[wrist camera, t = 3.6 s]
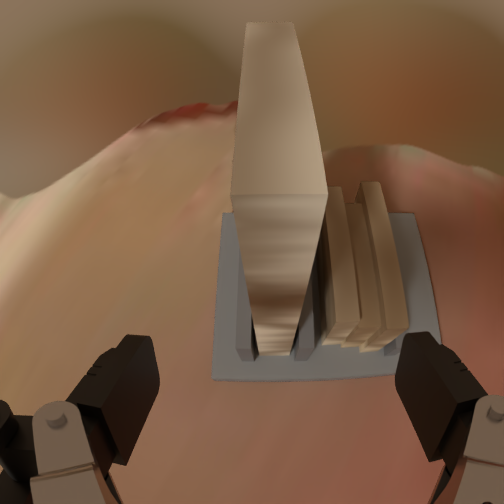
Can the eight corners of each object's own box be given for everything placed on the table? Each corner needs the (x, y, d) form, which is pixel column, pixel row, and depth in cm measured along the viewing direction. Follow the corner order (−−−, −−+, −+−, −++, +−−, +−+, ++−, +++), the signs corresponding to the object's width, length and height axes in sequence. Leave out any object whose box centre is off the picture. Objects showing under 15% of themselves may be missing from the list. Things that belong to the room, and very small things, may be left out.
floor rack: (409, 221, 33) (430, 183, 27) (436, 368, 25) (473, 352, 19) (224, 221, 34) (215, 179, 28) (214, 380, 26) (198, 369, 20)
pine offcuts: (361, 228, 31) (379, 181, 25) (377, 351, 25) (409, 327, 19) (313, 228, 31) (322, 180, 25) (321, 354, 25) (338, 332, 19)
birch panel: (286, 228, 31) (292, 22, 14) (289, 355, 25) (327, 194, 8) (260, 229, 31) (246, 22, 14) (259, 355, 25) (230, 195, 8)
